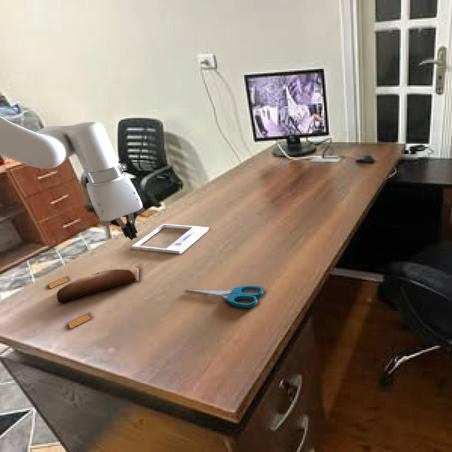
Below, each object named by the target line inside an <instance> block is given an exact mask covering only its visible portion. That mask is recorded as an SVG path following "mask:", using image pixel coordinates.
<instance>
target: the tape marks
mask: <svg viewBox="0 0 452 452" xmlns="http://www.w3.org/2000/svg"><path fill="white" fill-rule="evenodd" d="M67 282H68V279H67V278H66V277H63V278H61V279H59V280H56V281H54V282H52V283H50V284H48V287H49V288H50V289H53V288H56V287H57V286H59V285H62V284H65V283H67ZM90 320H91V318H90V316H89V315H88V314H85V315H82V316H81V317H78V318H76V319H74V320H72V321H70V322H68V327H69V329H70V330H72V329H74V328H76V327H77V326H79V325H82V324H83V323H86V322H88V321H90Z"/></svg>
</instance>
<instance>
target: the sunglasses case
mask: <svg viewBox="0 0 452 452" xmlns="http://www.w3.org/2000/svg"><path fill="white" fill-rule="evenodd" d="M139 279H140V268H139V267H125V268H118V269H117V268H115V269H107V270H103V271H97V272H95V273H91V274H89V275H85V276H82V277H80V278H77V279H76V280H74V281H72V282H69V283H67V284H66V285H64V286H62V287H61V288H59V289H58V291H57V292H56V299H57V301H58V303H59V304H62V303H65V302H68V301H70V300H73V299H77V298H79V297H82V296H85V295H88V294H91V293H96V292H99V291H102V290H105V289H109V288H114V287H116V286H121V285H126V284H128V283H133V282H135V281H136V282H139Z"/></svg>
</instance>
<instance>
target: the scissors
mask: <svg viewBox="0 0 452 452" xmlns="http://www.w3.org/2000/svg"><path fill="white" fill-rule="evenodd" d="M186 290H187V292H191V293H197V294H198V293H199V294H205V295H210V296H216V297H221V298H223V299H225V300H226V302H227V303H229V305H233V306H235V307H237V308H244V309H251V308H253V307H255V306H257V304H258V299H259V298H260V297H262V296H263V295H264V290H263V287H262V286H259V285H244V286H243V285H242V286H238V287H234V288H233V289H228V290H215V289H214V290H213V289H194V288H193V289H192V288H187V289H186ZM244 291H259V292H257V293H248V292H244ZM238 300H251V301H252V302H249V303H244V302H238Z"/></svg>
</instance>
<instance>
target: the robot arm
mask: <svg viewBox="0 0 452 452" xmlns="http://www.w3.org/2000/svg"><path fill="white" fill-rule="evenodd" d="M73 155H76V157H77V159H78V161H79V163H80V166H81V167H82V170H83V172H84V174H85V177H86V178H87V181H88V182H87V183H86V191H87V193H88V196H89V200H90V202H91V204H92V208H93V209H94V211H95V214H96V216H97V218H99V223H100V225H101V226H102V227H108V226H115V227H118V228H120V230H121V231H122V233H123V236H124V237H125V238H128V239H129V240H130V241H132V240H134V239H137V238H138V236H137V234H138V230H137V227H136V226H135V225H136V224H135V223H136V220H137V218H138V216H139V215H140V214H142V213H144V212H145V207H144V206H143V202H142V200H141V197H140V196H139V194H138V192H137V190H136V187H135V186H134V184H133V183H132V181H131V179H130V178H129V176H128V175H127V174H126V173H125V172H124V171H125V170H127V169H128V166H127V164H126V163H119V160H118V158H117V156H116V154H115V150H114V148H113V146H112V143H111V141H110V139H109V136H108V134H107V131H106V128H105V127H104V125H103V124H102V123H100V122H98V121H86V122H85V121H84V122H80V123H76V124H71V125H50V126H44V127H42V128H40V129H39V130H37V131H33V130H31V129H28V128H26V127H24V126H21V125H19V124H16V123H15V122H12V121H10V120H8V119H6V118H5V117H2V116H1V115H0V156H2V157H4V158H7V159H10V160H12V161H15V162H18V163H20V164H22V165H26V166H29V167H32V168H37V169H45V170H49V169H54V168H57V167H59V166H60V165H61V164H63V163H64V162H65V161H66V160H67V159H68V158H71V157H72V156H73ZM123 217H125V219H126V221H125V222H124V220H123V219H122V218H123Z"/></svg>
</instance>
